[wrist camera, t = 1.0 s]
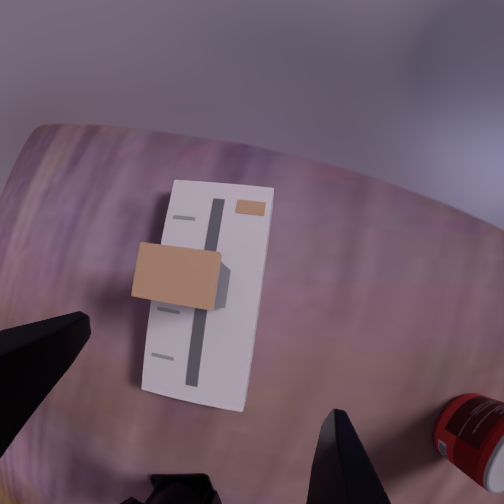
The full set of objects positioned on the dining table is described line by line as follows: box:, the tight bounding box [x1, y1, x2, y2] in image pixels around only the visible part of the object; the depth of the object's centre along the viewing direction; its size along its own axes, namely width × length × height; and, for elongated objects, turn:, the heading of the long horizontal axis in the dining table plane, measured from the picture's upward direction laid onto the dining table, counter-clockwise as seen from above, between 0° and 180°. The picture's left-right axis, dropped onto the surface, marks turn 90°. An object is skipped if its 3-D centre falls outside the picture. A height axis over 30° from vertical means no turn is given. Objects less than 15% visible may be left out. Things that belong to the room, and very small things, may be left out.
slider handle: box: [131, 242, 231, 310], centre depth 20 cm, size 3×5×8 cm
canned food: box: [433, 393, 504, 493], centre depth 16 cm, size 8×8×11 cm
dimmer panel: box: [141, 180, 274, 412], centre depth 25 cm, size 19×9×3 cm, turn 172°
